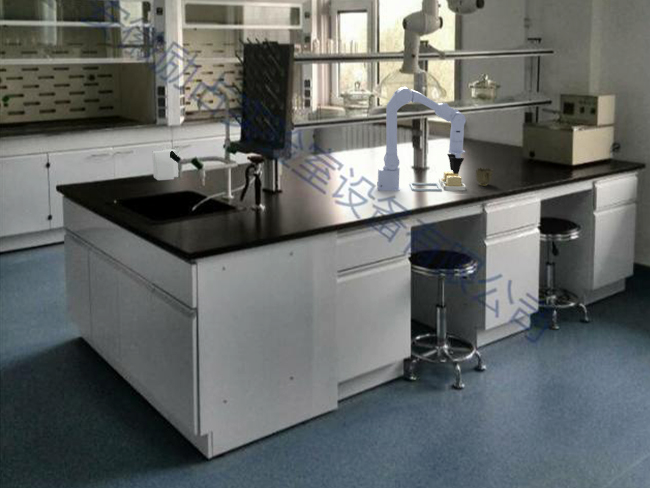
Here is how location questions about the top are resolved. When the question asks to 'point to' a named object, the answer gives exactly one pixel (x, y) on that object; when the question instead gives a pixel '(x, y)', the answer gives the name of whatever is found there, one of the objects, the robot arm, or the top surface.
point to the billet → (453, 181)
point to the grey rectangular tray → (451, 186)
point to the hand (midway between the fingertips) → (454, 171)
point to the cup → (484, 175)
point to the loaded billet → (449, 175)
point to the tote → (425, 189)
